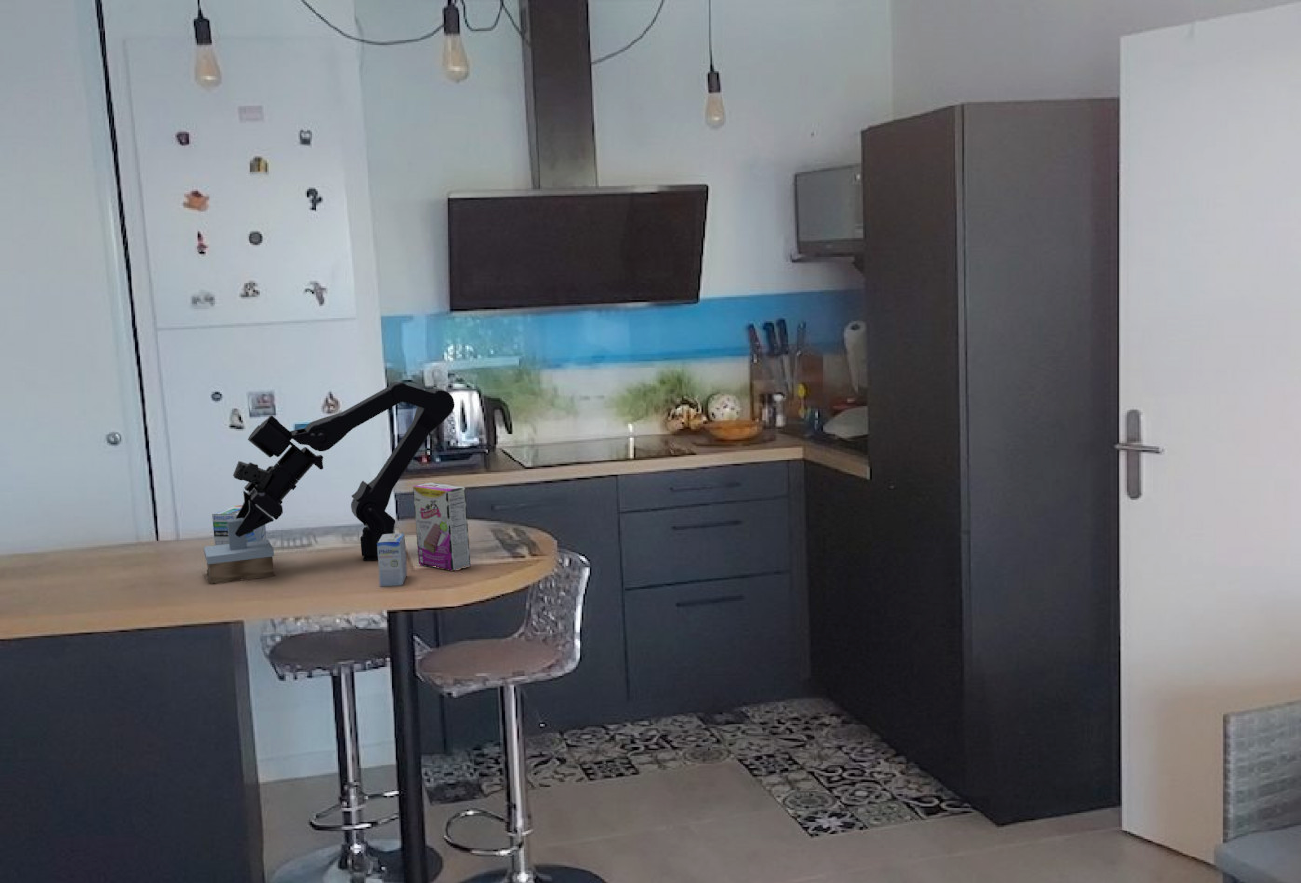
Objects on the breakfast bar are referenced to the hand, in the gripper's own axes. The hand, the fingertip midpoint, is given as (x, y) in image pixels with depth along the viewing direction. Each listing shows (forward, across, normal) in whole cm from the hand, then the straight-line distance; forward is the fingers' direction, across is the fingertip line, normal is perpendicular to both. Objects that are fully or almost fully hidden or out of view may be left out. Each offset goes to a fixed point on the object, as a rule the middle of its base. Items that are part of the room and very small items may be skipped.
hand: (235, 531), depth 258 cm
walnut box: (+6, 0, +7) cm, 9 cm away
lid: (+3, 0, +4) cm, 5 cm away
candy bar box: (-21, +16, +33) cm, 43 cm away
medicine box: (-13, +24, +25) cm, 37 cm away
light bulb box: (+5, -16, +8) cm, 19 cm away
